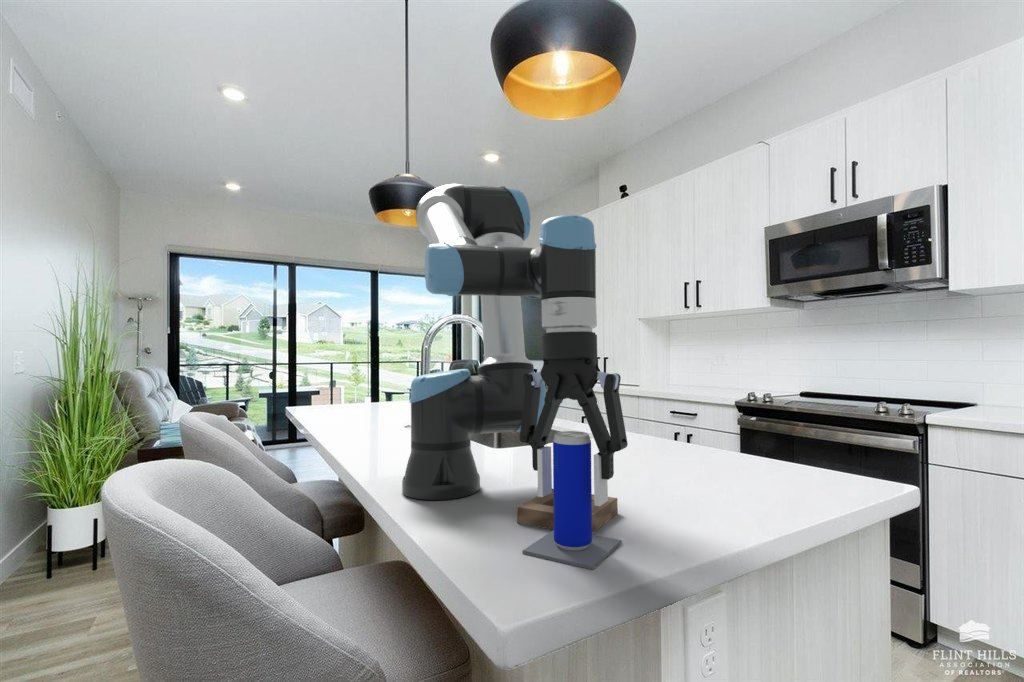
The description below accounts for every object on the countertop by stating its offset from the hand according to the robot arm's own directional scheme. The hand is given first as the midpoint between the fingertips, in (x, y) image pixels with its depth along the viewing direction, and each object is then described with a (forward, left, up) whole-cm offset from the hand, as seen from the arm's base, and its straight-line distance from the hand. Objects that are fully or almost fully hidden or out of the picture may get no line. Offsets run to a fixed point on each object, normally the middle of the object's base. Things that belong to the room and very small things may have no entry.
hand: (572, 498), depth 68 cm
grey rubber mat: (0, 0, -7) cm, 7 cm away
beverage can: (0, 0, -6) cm, 6 cm away
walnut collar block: (-6, +11, -7) cm, 14 cm away
